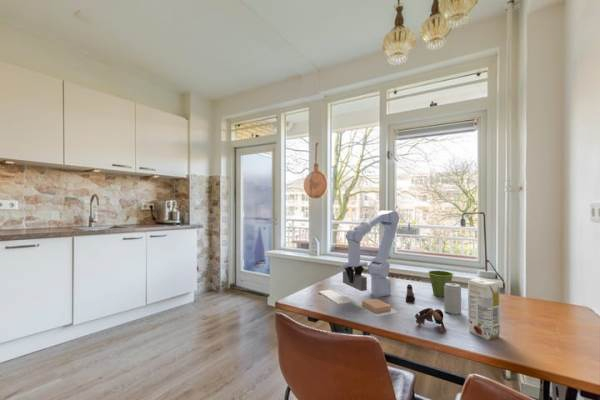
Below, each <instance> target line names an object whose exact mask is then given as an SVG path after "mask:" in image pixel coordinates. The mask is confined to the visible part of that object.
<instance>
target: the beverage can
mask: <svg viewBox="0 0 600 400" xmlns="http://www.w3.org/2000/svg"><path fill="white" fill-rule="evenodd" d="M443 303H444V304H443V305H444V306H443V307H444V308H443V309H444V311H445V312H446V313H448V314H449V313H450V315H460V314H461V313H462V288H461V285H460V284H458V283H455V282H451V283H445V286H444V296H443Z"/></svg>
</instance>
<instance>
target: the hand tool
mask: <svg viewBox="0 0 600 400" xmlns="http://www.w3.org/2000/svg"><path fill="white" fill-rule="evenodd" d="M415 300H416V297H415V294H414V292H413V285H412V284H407V286H406V297H405V302H406V303H412V304H414V303H415V302H416V301H415Z"/></svg>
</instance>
